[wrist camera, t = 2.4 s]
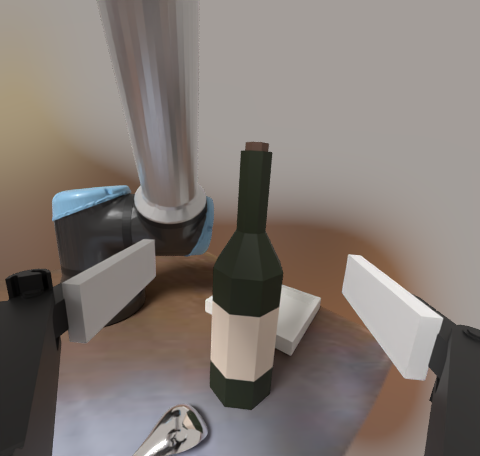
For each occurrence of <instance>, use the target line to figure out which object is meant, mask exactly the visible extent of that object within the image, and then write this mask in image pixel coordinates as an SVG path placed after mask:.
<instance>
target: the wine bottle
mask: <svg viewBox="0 0 480 456" xmlns="http://www.w3.org/2000/svg"><path fill="white" fill-rule="evenodd" d="M268 147H269V144H268V143H262V142H246V149H245V151H241V162H240V179H239V197H238V215H237V229H236V231H235V232H234V234H233V236H232V237H231V239H230V240H229V242H228V243H227V245H226V246H225V248H224V249H223V251H222V252H221V254H220V255H219V257H218V259H217V261H216V263H215V265H214V267H213V299H212V332H211V365H210V388H211V389H212V390H213V392H214V393H215V394H216V396H217V397H218V398H219V400H220V401H221V402H222V404H223V405H224V406H225V407H232V408H240V409H248V410H252V409H253V408H254V407H255V406H256V405H258V404H259V403H260V402H261V401H262V400H263V399H264V398H265V397H267V396H268V395H269V394H270V386H271V377H272V368H273V359H274V350H275V342H276V333H277V324H278V315H279V306H280V297H281V289H282V280H283V270H282V267H281V263H280V260H279V259H278V256H277V254H276V252H275V250H274V248H273V246H272V244H271V242H270V239H269V237H268V236H267V233H266V231H265V228H266V218H267V207H268V196H269V184H270V173H271V160H272V152H268Z"/></svg>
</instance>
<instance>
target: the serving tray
mask: <svg viewBox="0 0 480 456" xmlns="http://www.w3.org/2000/svg"><path fill="white" fill-rule="evenodd" d="M212 299H213V296H211V297H210V298H208V299H206V300H205V311H206V312H208V313H210V314H211V315H212ZM320 302H321V298H320V297H317V296H314V295H311V294H308V293H305V292H302V291H299V290H297V289H294V288H290V287H288V286H285V285H282V289H281V297H280V306H279V315H278V324H277V333H276V342H275V348H276V349H278V350H280V351H282V352H284V353H286V354H288V355H290V356H291V355H292V353H293V352H294V350H295V348H296V347H297V345H298V343H299V342H300V340H301V338H302V337H303V335H304V333H305V332H306V330H307V328H308V327H309V325H310V323H311V322H312V320H313V318H314V317H315V315H316V313H317V312H318V310H319V308H320Z"/></svg>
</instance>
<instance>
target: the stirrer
mask: <svg viewBox="0 0 480 456" xmlns="http://www.w3.org/2000/svg"><path fill="white" fill-rule="evenodd" d="M207 433H208V428H207V425H206V423H205V421H204V420H203V418H202V416H201V415H200V414H199V412H198V411H197V410H196V409H195V408H193V407H192V406H190V405H188V404H177V405H174V406H172V407H171V408H169V409H168V410H167V411H166V412H165V413H164V414H163V415H162V416H161V417H160V418H159V420H158V421H157V423H156V424H155V426H154V427H153V429H152V431H151V432H150V434H149V435H148V437H147V438H146V440H145V441H144V442H143V444H142V445H141V446H140V448H139V449H138V450H137V451H136V452H135V453H134V454H133V456H165V455H171V454H176V453H180V452H183V451H186V450H188V449H190V448H192V447H194V446H195V445H197V444H198V443H200V442H201V441H202V440H203V439H204V438H205V437H206V435H207Z"/></svg>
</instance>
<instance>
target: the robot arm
mask: <svg viewBox="0 0 480 456" xmlns="http://www.w3.org/2000/svg"><path fill="white" fill-rule="evenodd" d="M97 4H98V9H99V12H100V17H101V21H102V25H103V29H104V33H105V38H106V42H107V46H108V50H109V54H110V58H111V62H112V67H113V71H114V75H115V79H116V83H117V87H118V92H119V96H120V100H121V104H122V108H123V112H124V117H125V121H126V125H127V129H128V133H129V137H130V141H131V146H132V150H133V154H134V158H135V163H136V167H137V171H138V175H139V179H140V183H141V186H140V187H139V188H138V189H137V191H136V193H135V194H130V193H131V190H130V189H129V187H128V186H108V187H96V188H87V189H77V190H69V191H63V192H60V193H57V194H56V195H55V196H54V198H53V200H52V207H53V218H52V220H53V221H54V226H55V232H56V238H57V244H58V251H59V258H60V264H61V270H62V278H61V282H60V284H58V285H56V286H54V287H53V285H52V278H51V272H50V271H49V270H47V269H33V270H27V271H22V272H19V273H15V274H13V275H11V276H9V277H7V278H6V279H5V280H6V285H7V290H8V295H9V300H8V301H1V302H0V456H52V447H53V436H54V424H55V412H56V400H57V388H58V376H59V365H60V353H61V338H60V335H62V334H63V333H64V332H65V331H67V330H68V332H69V339H70V342H79V343H87V342H88V341H89V340H91V339H92V338H93V337H94V336H95V335H96V334H97V333H98V332H99V331H100V330H101V329H102V328H103V327H104V326H107V325H111V324H114V323H116V322H119V321H121V320H123V319H125V318H127V317H129V316H131V315H132V314H134V313H135V312H136V311H138V310H139V309H140V308H141V306H142V305H143V304H144V302H145V286H146V285H148V284H149V283H150V282H151V281H152V280H153V279H154V278H155V277H156V266H155V256H190V255H201V254H203V253H205V252H206V251H207V249H208V247H209V244H210V240H211V236H212V226H213V220H214V205H213V200H212V199H211V198H210V197H207V196H206V193H205V191H204V189H203V188H202V186H201V185H200V184H199V183H198V95H199V93H198V91H199V88H198V87H199V4H200V0H97ZM342 294H343V295H344V296H345V298H346V299H347V300H348V302H349V303H350V304H351V306H352V307H353V309H354V310H355V311H356V313H357V314H358V316H359V317H360V318H361V319H362V321H363V322H364V324H365V325H366V326H367V328H368V329H369V331H370V332H371V333H372V335H373V336H374V337H375V339H376V340H377V342H378V343H379V344H380V346H381V347H382V348H383V350H384V351H385V353H386V354H387V355H388V357H389V358H390V359H391V361H392V362H393V363H394V365H395V366H396V368H397V369H398V370H399V372H400V373H401V374H402V376H403V377H404V378H406V379H416V380H425V378H426V375H427V371H428V368H430V369H431V370H432V371H433V372H434V373H435V374H436V375H437V378H436V381H435V384H434V387H433V391H432V394H431V397H430V401H431V402H432V405H431V412H430V419H429V426H428V433H427V441H426V447H425V455H424V456H480V330H479V329H476V328H473V327H469V326H465V325H456V324H455V323H453V322H452V321H451V320H449V319H448V318H447V317H445V316H444V315H442V314H441V313H440V312H438V311H436V309H434V308H433V307H431V306H430V305H429V304H428V303H426V302H425V301H424V300H422V299H421V298H419V297H417V296H415V295H413V294H411V293H409V292H408V291H407V290H405V289H404V288H403V287H401V286H400V285H399V284H397V283H396V282H395V281H393V280H392V279H391V278H389V277H388V276H387V275H386V274H384V273H383V272H382V271H380V270H379V269H378V268H376V267H375V266H374V265H372V264H371V263H369V262H368V261H367V260H366V259H364V258H363V257H362V256H359V255H348V260H347V266H346V271H345V277H344V283H343V289H342Z"/></svg>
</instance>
